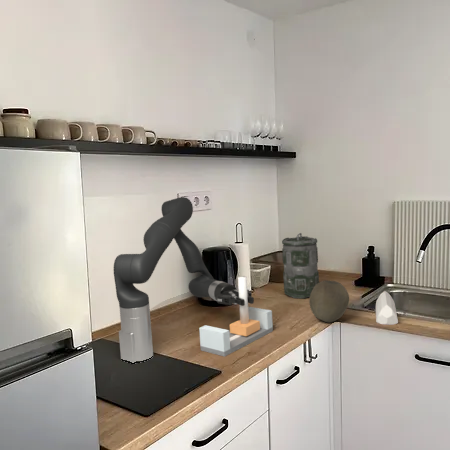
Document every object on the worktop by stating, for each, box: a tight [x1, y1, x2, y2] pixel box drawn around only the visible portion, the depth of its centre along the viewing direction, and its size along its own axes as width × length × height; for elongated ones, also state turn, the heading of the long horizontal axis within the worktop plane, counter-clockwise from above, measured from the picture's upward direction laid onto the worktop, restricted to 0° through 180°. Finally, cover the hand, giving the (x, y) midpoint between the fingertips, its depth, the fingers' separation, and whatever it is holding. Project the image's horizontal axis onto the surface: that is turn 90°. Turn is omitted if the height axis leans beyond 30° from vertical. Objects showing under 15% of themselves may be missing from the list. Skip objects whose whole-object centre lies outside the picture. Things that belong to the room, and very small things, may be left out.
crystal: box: [375, 290, 399, 326], centre depth 174 cm, size 7×7×24 cm
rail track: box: [199, 306, 274, 358], centre depth 157 cm, size 27×10×8 cm, turn 141°
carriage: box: [229, 275, 260, 336], centre depth 159 cm, size 8×7×19 cm
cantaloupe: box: [309, 280, 350, 323], centre depth 171 cm, size 14×14×15 cm
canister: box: [281, 232, 320, 300], centre depth 210 cm, size 16×16×28 cm
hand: (248, 301), depth 156 cm, fingers closed on carriage, 3 cm apart
